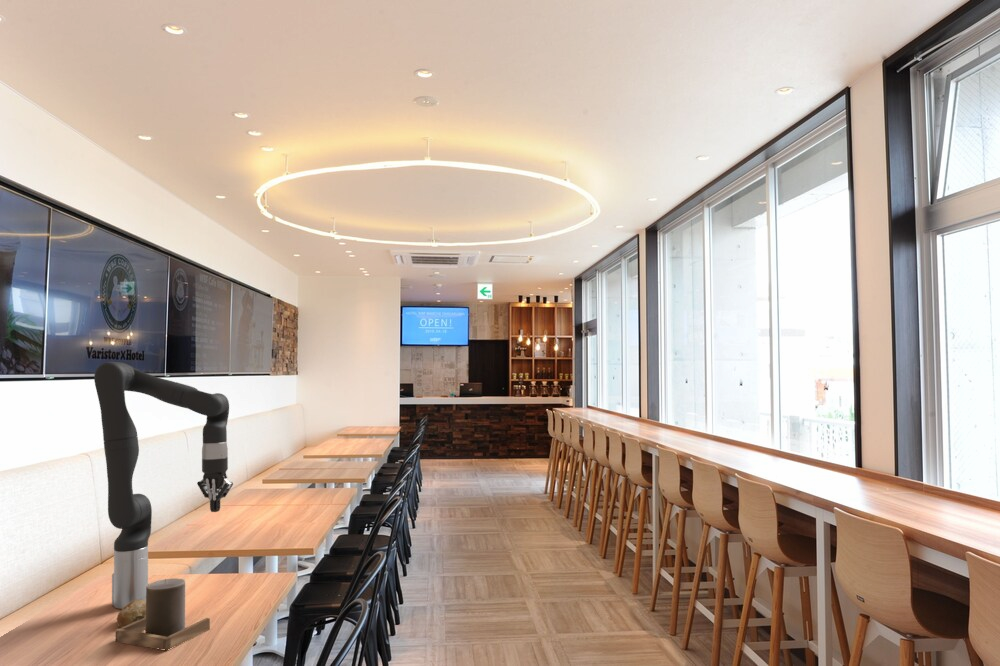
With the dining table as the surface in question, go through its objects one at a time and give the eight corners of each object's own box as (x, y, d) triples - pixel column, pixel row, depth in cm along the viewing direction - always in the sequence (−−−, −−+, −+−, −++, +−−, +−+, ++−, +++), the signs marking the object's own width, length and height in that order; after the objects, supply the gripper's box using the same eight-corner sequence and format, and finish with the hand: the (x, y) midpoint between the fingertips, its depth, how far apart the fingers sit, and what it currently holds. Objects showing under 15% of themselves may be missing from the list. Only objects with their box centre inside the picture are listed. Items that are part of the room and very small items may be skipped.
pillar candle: (161, 644, 172) (162, 586, 172) (137, 638, 176) (138, 581, 177) (193, 630, 180) (193, 575, 181) (169, 624, 185) (170, 571, 185)
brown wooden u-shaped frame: (115, 641, 174) (115, 630, 174) (160, 621, 187) (160, 610, 187) (166, 651, 167) (166, 639, 168) (209, 629, 181) (209, 618, 181)
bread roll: (125, 644, 181) (131, 620, 180) (107, 621, 186) (113, 598, 185) (159, 631, 190) (166, 607, 188) (141, 609, 195) (148, 587, 193)
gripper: (189, 457, 206) (189, 512, 205) (222, 459, 201) (222, 515, 200) (208, 454, 213) (208, 507, 212) (239, 455, 208) (240, 510, 207)
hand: (215, 511), depth 206 cm, fingers closed
